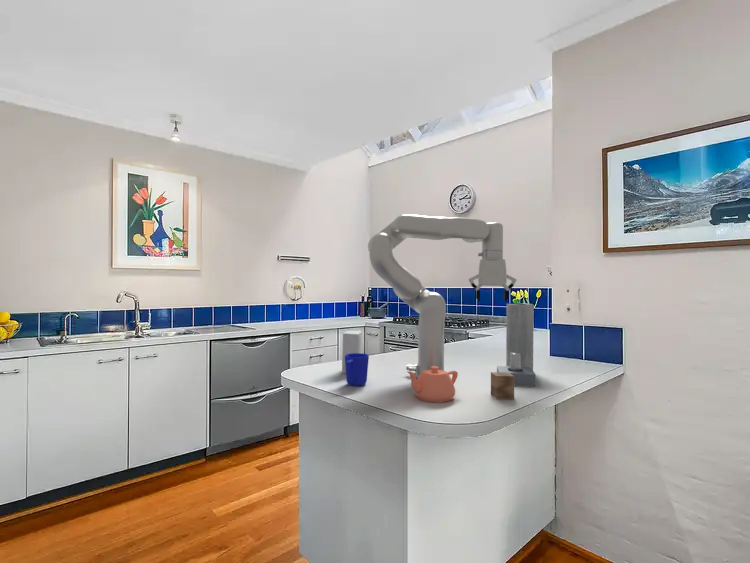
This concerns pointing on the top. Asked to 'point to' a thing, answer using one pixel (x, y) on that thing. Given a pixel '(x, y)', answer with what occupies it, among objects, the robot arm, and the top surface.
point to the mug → (356, 368)
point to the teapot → (434, 385)
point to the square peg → (502, 385)
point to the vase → (520, 332)
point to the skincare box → (350, 345)
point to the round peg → (515, 362)
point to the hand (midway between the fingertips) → (492, 301)
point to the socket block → (521, 375)
